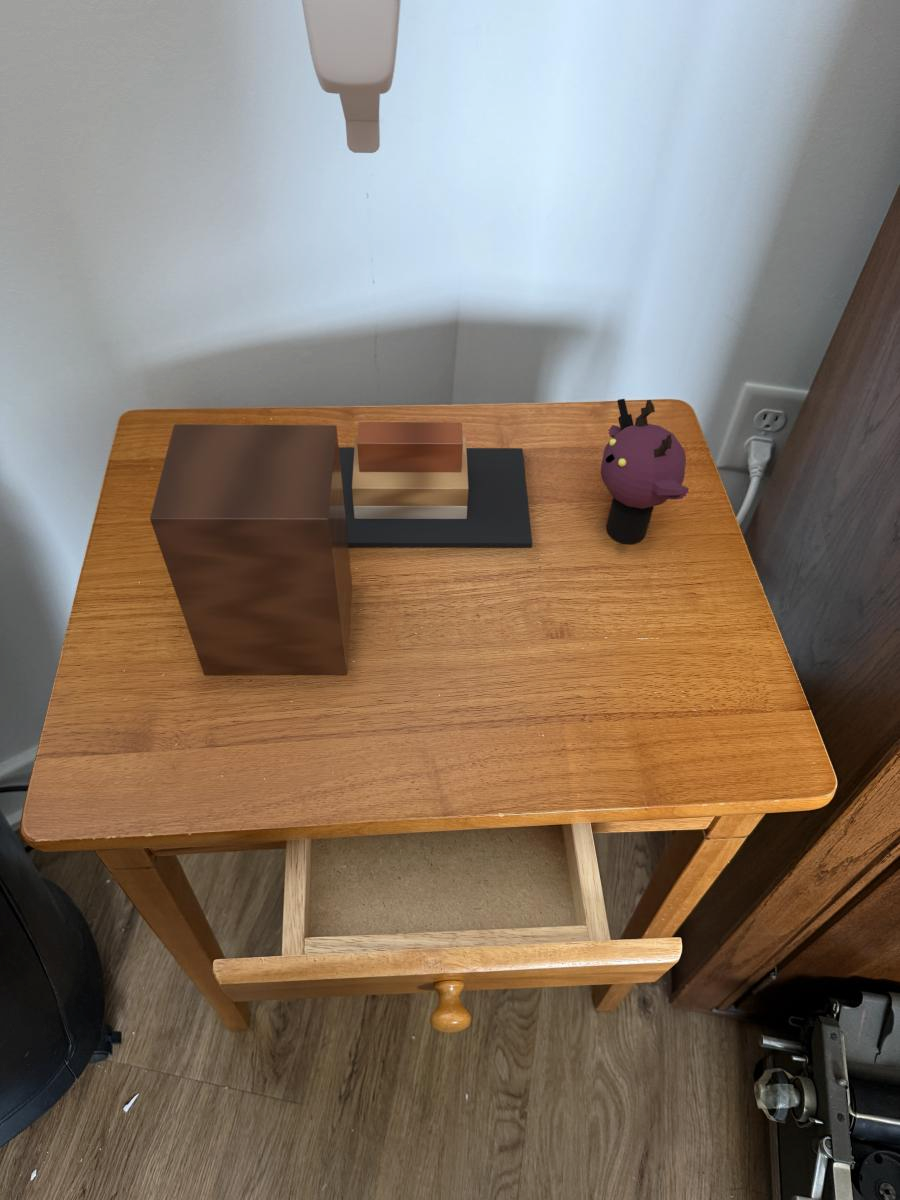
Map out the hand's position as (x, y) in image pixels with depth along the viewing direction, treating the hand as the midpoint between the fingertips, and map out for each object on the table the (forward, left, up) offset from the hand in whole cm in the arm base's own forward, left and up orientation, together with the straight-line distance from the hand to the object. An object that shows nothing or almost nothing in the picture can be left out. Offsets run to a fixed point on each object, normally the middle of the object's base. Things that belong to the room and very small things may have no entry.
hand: (367, 109), depth 53 cm
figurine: (+20, -7, -29) cm, 36 cm away
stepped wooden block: (+2, -3, -28) cm, 29 cm away
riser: (-7, -17, -29) cm, 34 cm away
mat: (+2, -3, -29) cm, 29 cm away
